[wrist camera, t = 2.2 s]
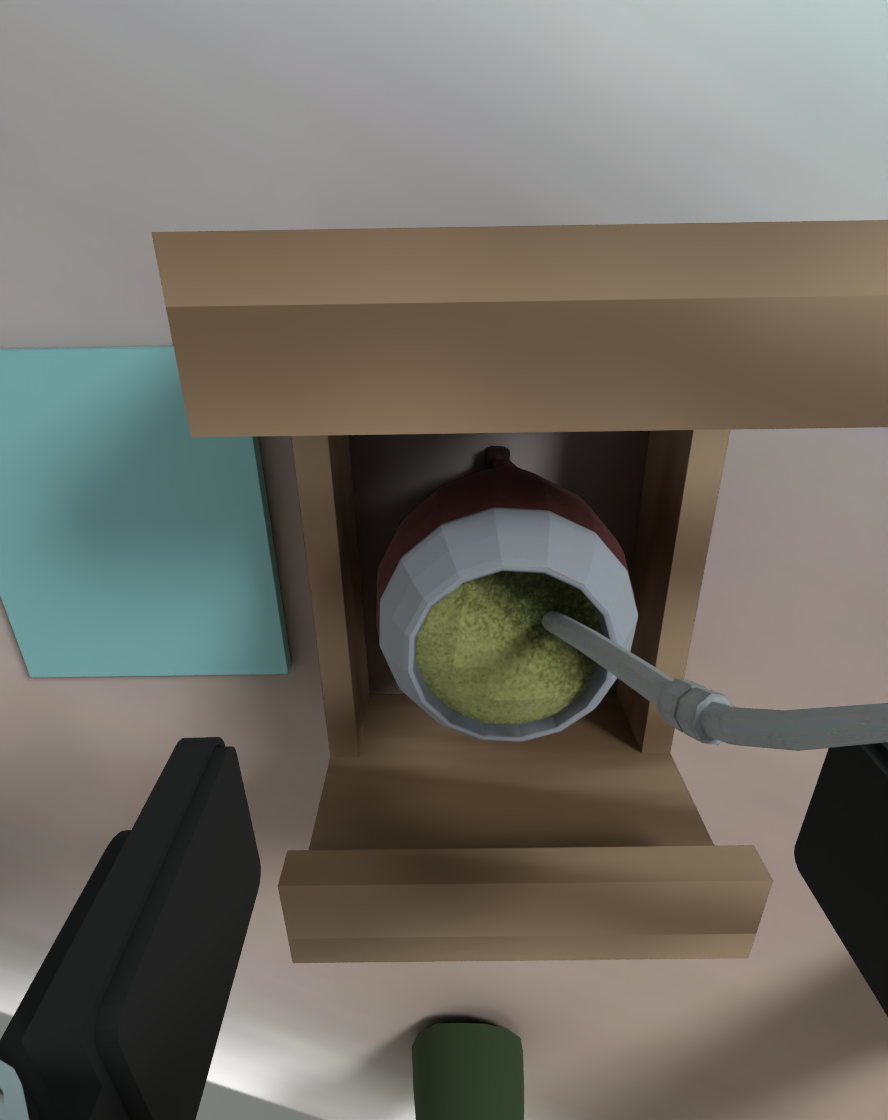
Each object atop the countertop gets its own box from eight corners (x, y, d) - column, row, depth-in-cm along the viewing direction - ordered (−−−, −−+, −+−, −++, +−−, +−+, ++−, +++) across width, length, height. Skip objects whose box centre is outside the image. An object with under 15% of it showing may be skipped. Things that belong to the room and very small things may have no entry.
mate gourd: (389, 611, 23) (310, 1094, 9) (394, 400, 20) (284, 678, 6) (583, 621, 23) (781, 1108, 10) (621, 414, 20) (1005, 712, 6)
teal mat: (291, 665, 24) (287, 673, 23) (39, 668, 24) (30, 677, 24) (244, 344, 19) (238, 347, 18) (-75, 349, 19) (-90, 352, 18)
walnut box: (637, 710, 25) (748, 958, 16) (347, 714, 25) (292, 962, 16) (707, 247, 18) (983, 218, 9) (299, 254, 18) (151, 232, 9)
